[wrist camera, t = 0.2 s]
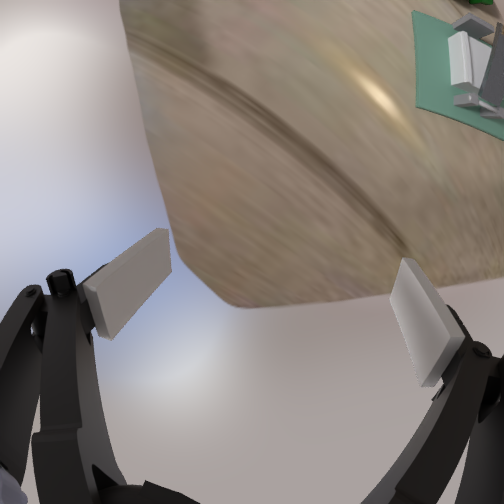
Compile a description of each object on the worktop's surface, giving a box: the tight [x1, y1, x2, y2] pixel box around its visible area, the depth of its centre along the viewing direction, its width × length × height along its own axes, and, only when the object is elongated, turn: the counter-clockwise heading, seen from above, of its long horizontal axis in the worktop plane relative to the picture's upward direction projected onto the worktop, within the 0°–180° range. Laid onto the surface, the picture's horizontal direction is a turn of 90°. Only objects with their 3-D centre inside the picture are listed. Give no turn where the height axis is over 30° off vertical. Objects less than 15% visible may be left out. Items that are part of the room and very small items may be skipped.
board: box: [412, 10, 504, 141], centre depth 22 cm, size 18×20×8 cm
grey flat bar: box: [478, 22, 504, 107], centre depth 16 cm, size 14×4×2 cm
